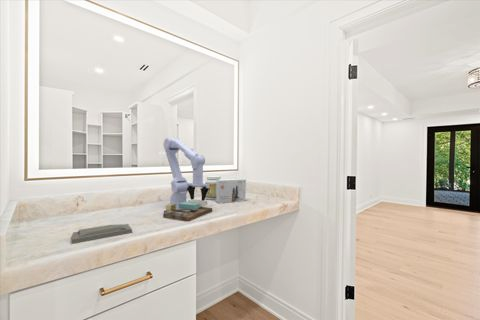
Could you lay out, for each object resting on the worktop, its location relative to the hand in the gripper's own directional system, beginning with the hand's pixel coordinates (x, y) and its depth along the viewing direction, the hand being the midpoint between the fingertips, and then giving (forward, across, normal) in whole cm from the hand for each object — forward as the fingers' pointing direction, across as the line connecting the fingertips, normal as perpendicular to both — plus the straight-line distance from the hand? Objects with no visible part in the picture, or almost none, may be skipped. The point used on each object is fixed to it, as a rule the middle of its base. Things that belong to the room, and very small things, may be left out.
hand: (197, 199), depth 128 cm
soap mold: (+8, -12, -48) cm, 50 cm away
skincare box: (+7, +5, +33) cm, 34 cm away
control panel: (+7, 0, -8) cm, 10 cm away
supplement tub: (+7, -12, +37) cm, 39 cm away
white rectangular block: (+3, 0, 0) cm, 3 cm away
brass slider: (+4, -6, -16) cm, 17 cm away
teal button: (+3, 0, -8) cm, 9 cm away
